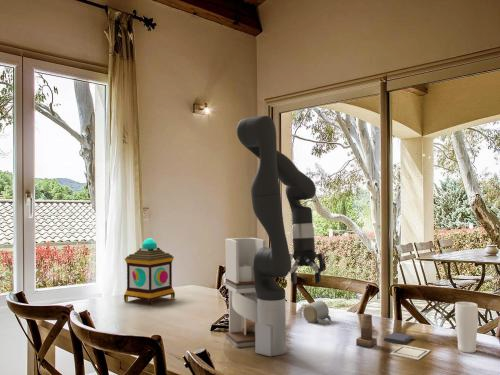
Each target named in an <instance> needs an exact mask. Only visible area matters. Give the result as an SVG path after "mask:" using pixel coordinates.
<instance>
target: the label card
mask: <svg viewBox="0 0 500 375" xmlns="http://www.w3.org/2000/svg"><path fill="white" fill-rule="evenodd" d="M431 351H432V350H431V349H427V348H426V349H425V348H419V347H415V346H411V345H406V344H404V345H403V344H402V345H401V346H399V347H397V348H396V349H395V350H393V351H391V352H390V353H389V355H390V356H395V357H400V358H406V359H411V360H415V361H419V360H421V359H422V358H423V357H425V356H426V355H427V354H429V353H430V352H431Z"/></svg>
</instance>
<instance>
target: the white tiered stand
mask: <svg viewBox="0 0 500 375" xmlns="http://www.w3.org/2000/svg"><path fill="white" fill-rule="evenodd" d="M224 242H225V243H224V244H225V249H224V250H225V288H226V289H228V331H227V332H226V331H225V339H226V340H228V341H229V342H230V343H231V344H232V345H233V346H234V347H235V348H244V347H251V346H252V347H253V346H255V324H256V323H257V293H256V290H255V284H254V266H253V265H254V256H255V253H256V251H257V250H258V249H259V248H263V247H266V246H267V245H266V239H262V238H256V237H239V238H238V237H236V238H225V241H224ZM266 248H267V247H266Z"/></svg>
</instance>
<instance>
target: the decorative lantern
mask: <svg viewBox="0 0 500 375" xmlns="http://www.w3.org/2000/svg"><path fill="white" fill-rule="evenodd" d="M157 245H158V244H157V242H156V240H154V239H153V238H151V237H150V238H146V239H145V240H144V241H143V242H142V245H141V247H140V248H138V250H137V251H135V252H133V253H131V254H129V255H127V256H126V257H125V258H124V261H125V263H126V275H127V276H126V290H125V293H124V295H123V300H124V302H126V303H127V302H129V301H128V300H129V298H134V299H142V300H147V301H148V305H149V306H152V305H153V300H154V299H158V298H162V297H167V296H170V298H171V300H174V299H175V297H176V293H175V291H174V288H173V283H172V282H173V280H172V279H173V272H172V270H173V269H172V268H173V261H174V258H175V257H174V256H173V255H172V254H170V252H165V251H163V250H162V249H161V248H160V247H157Z"/></svg>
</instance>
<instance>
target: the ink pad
mask: <svg viewBox="0 0 500 375" xmlns="http://www.w3.org/2000/svg"><path fill="white" fill-rule="evenodd" d="M414 338H415V337H414V335H412V334H404V333H399V332H392V333H390V334H389V335H387V336H386V337H383V342H386V343H387V342H388V343H392V342H393V343H394V344H397V345H402V346H403V345H406V344H407V343H409V342H411V341H412V340H414Z"/></svg>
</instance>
